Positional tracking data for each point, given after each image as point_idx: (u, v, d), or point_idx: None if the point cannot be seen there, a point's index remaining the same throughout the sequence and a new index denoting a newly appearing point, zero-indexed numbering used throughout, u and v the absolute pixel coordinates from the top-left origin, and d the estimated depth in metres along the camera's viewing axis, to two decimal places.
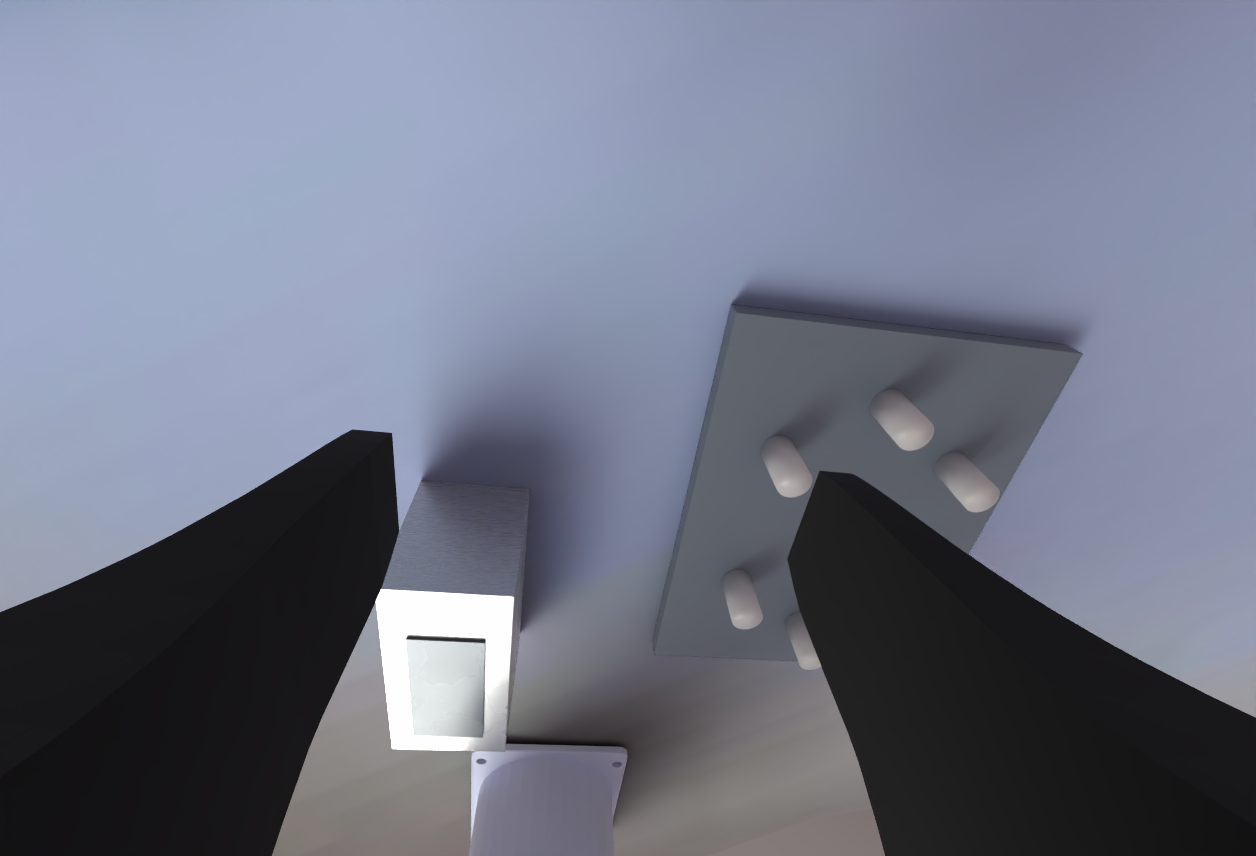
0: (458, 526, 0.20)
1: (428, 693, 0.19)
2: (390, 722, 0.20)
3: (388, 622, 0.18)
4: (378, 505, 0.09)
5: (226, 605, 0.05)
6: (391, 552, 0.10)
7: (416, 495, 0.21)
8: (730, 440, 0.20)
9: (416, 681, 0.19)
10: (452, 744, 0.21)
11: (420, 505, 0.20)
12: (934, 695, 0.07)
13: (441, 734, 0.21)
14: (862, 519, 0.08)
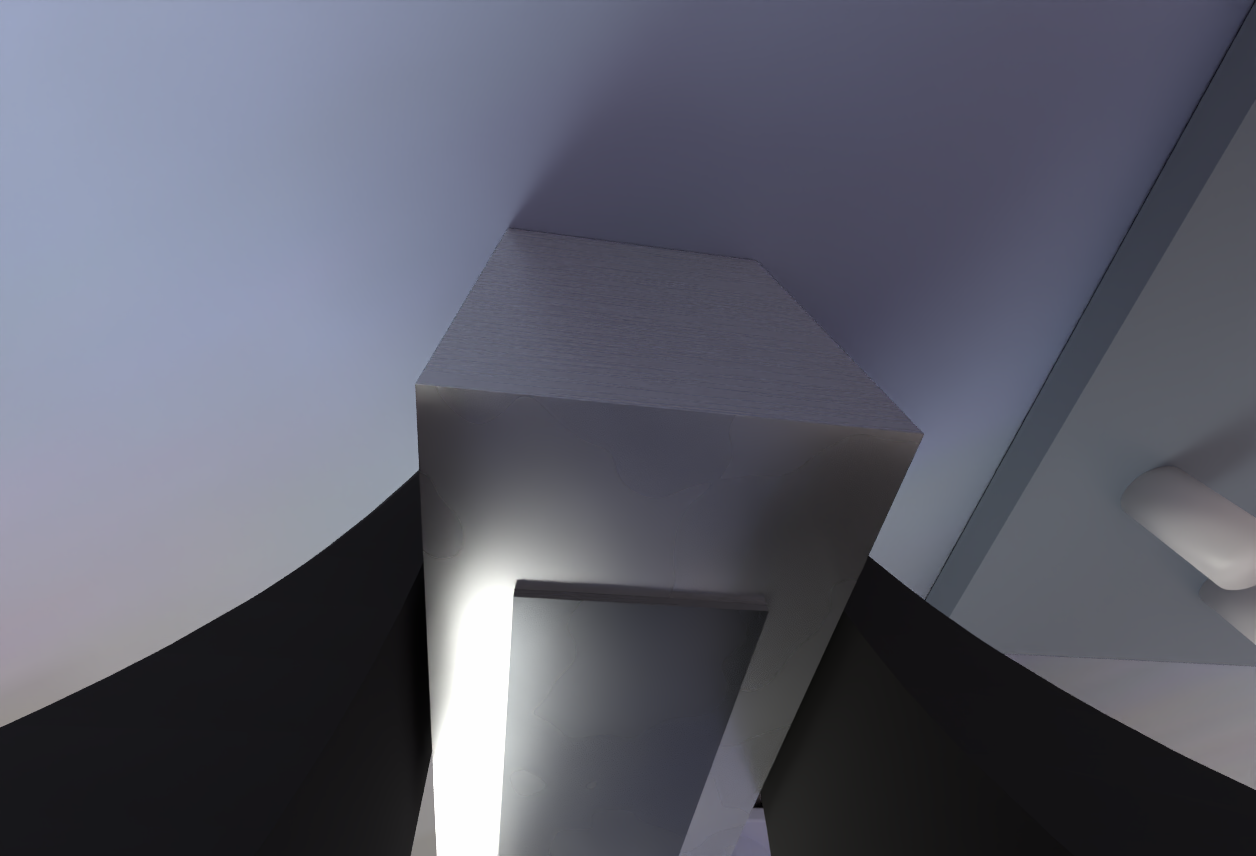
0: (635, 291, 0.07)
1: (557, 765, 0.07)
2: (439, 835, 0.07)
3: (459, 532, 0.05)
4: None
5: (404, 614, 0.05)
6: None
7: (503, 243, 0.08)
8: None
9: (527, 731, 0.06)
10: None
11: (518, 255, 0.08)
12: (810, 690, 0.07)
13: None
14: None
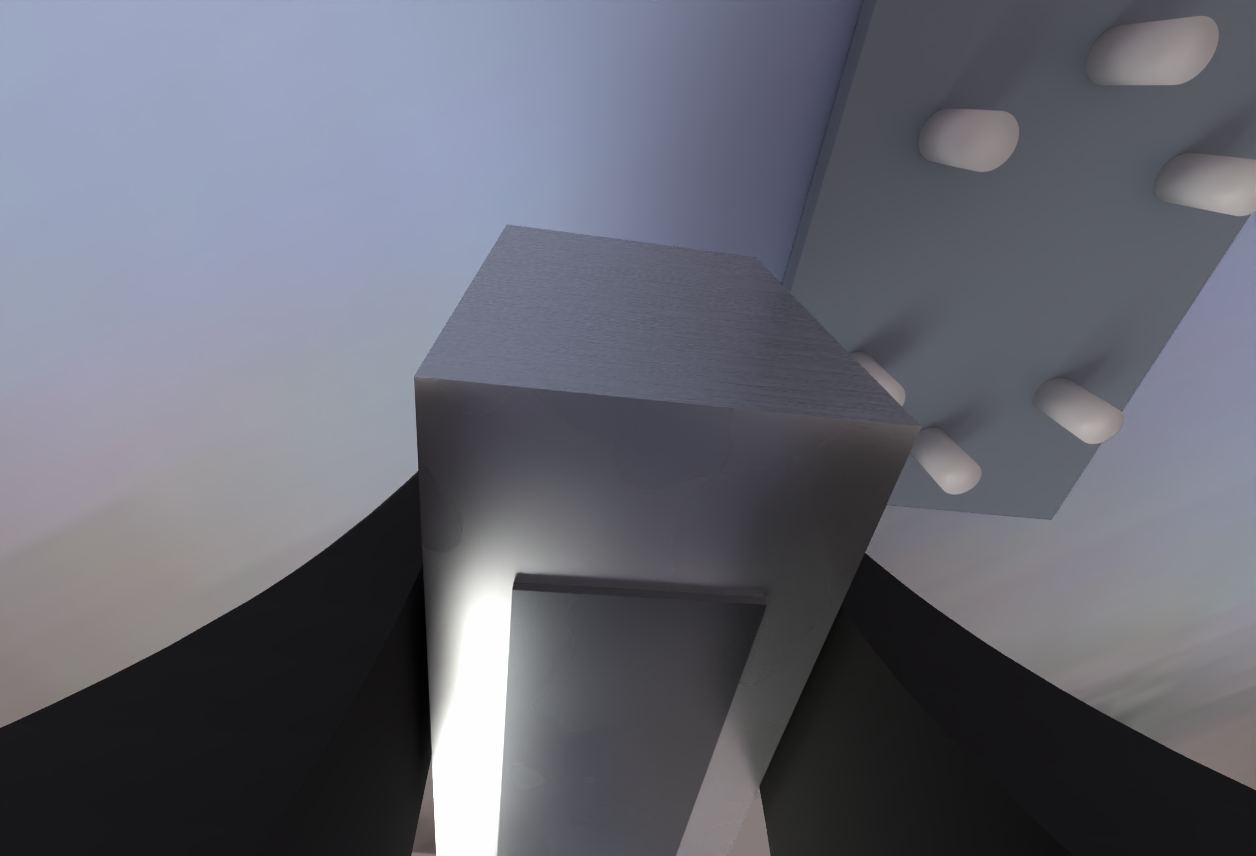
0: (634, 286, 0.07)
1: (556, 758, 0.07)
2: (438, 829, 0.07)
3: (458, 525, 0.05)
4: None
5: (404, 614, 0.05)
6: None
7: (502, 239, 0.08)
8: (878, 114, 0.14)
9: (526, 725, 0.06)
10: None
11: (517, 251, 0.08)
12: (810, 690, 0.07)
13: None
14: None
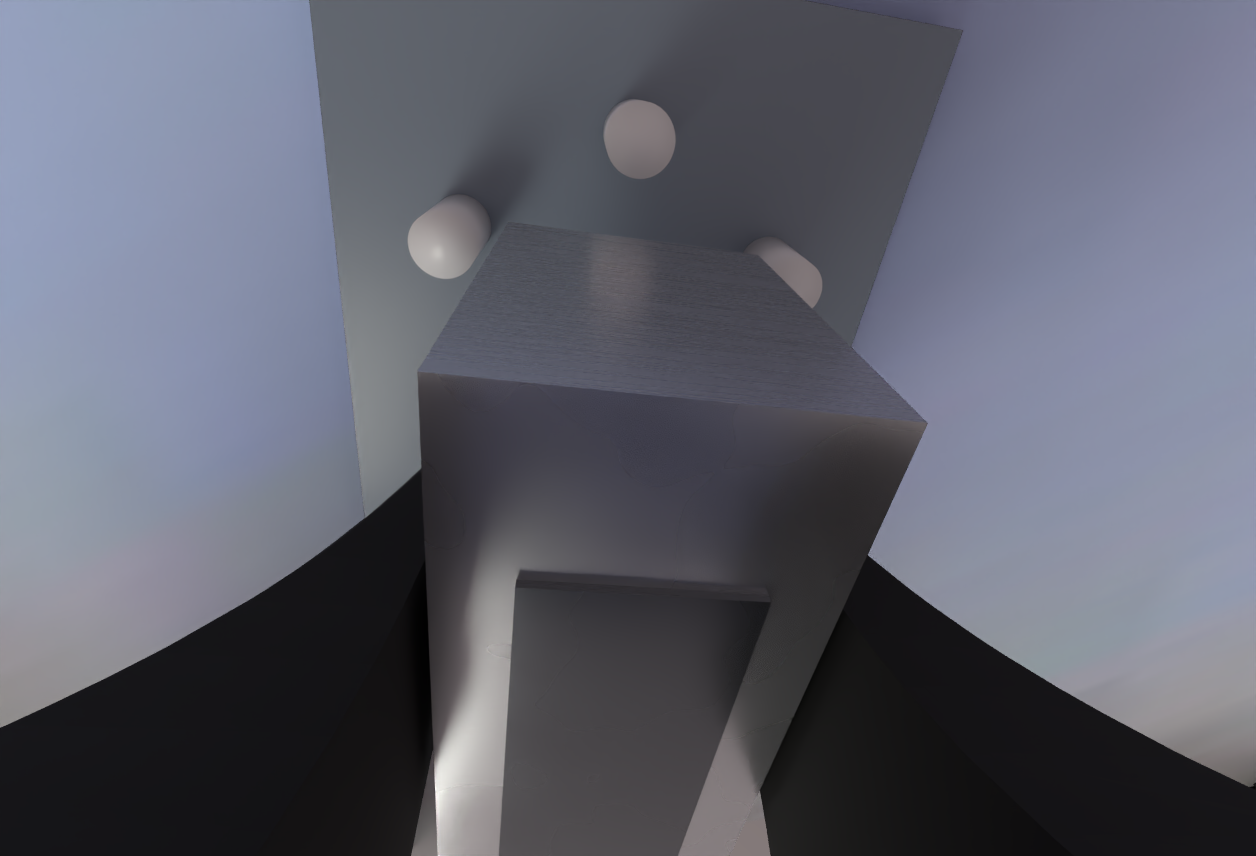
0: (637, 283, 0.07)
1: (558, 758, 0.07)
2: (440, 829, 0.07)
3: (460, 522, 0.05)
4: None
5: (404, 615, 0.05)
6: None
7: (503, 236, 0.08)
8: (374, 202, 0.12)
9: (528, 723, 0.06)
10: None
11: (519, 248, 0.08)
12: (810, 690, 0.07)
13: (571, 855, 0.08)
14: None
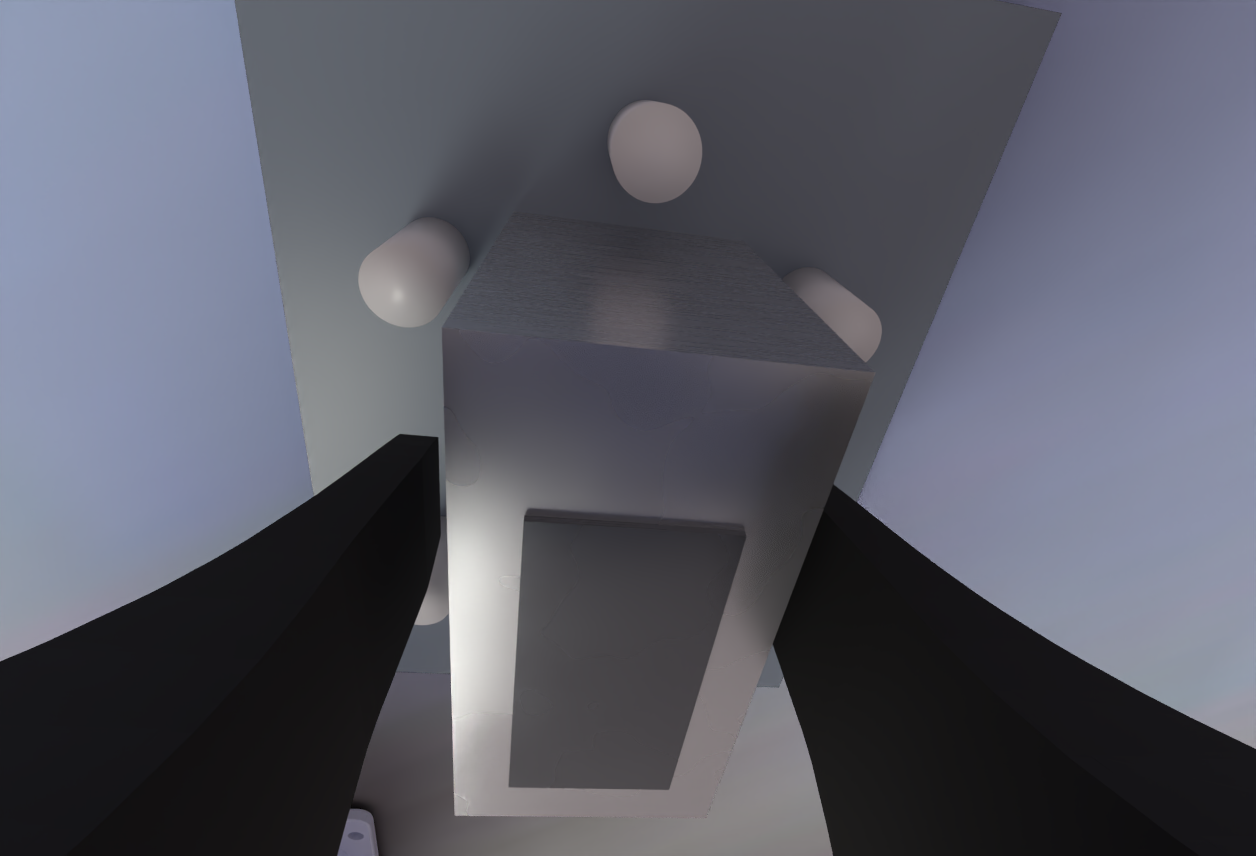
0: (629, 263, 0.08)
1: (561, 685, 0.07)
2: (455, 756, 0.08)
3: (477, 461, 0.06)
4: (426, 509, 0.09)
5: (310, 610, 0.05)
6: (435, 555, 0.10)
7: (510, 224, 0.09)
8: (325, 227, 0.10)
9: (535, 651, 0.07)
10: (594, 804, 0.09)
11: (524, 234, 0.08)
12: (878, 693, 0.07)
13: (573, 783, 0.09)
14: None
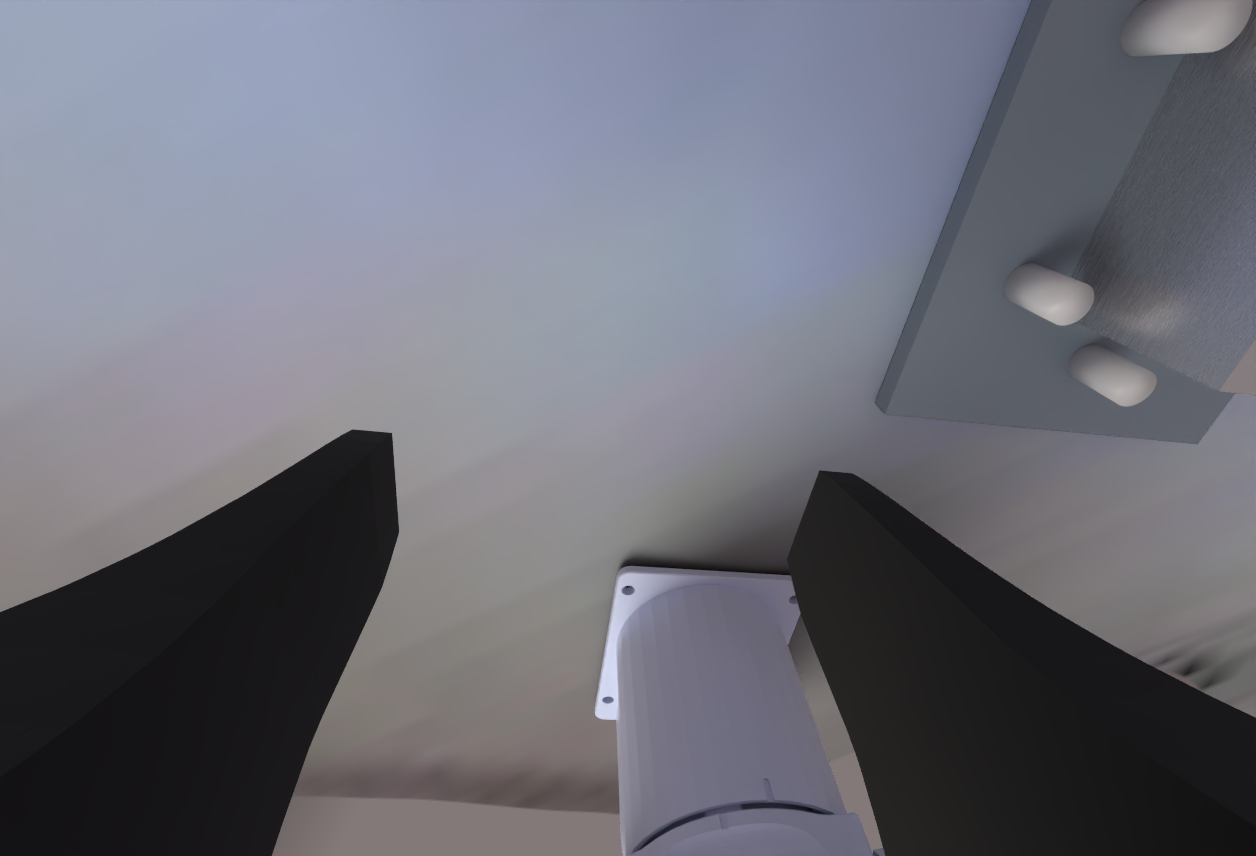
0: None
1: None
2: None
3: None
4: (378, 505, 0.09)
5: (226, 605, 0.05)
6: (391, 552, 0.10)
7: None
8: (1085, 5, 0.14)
9: None
10: None
11: None
12: (934, 695, 0.07)
13: None
14: (861, 518, 0.08)
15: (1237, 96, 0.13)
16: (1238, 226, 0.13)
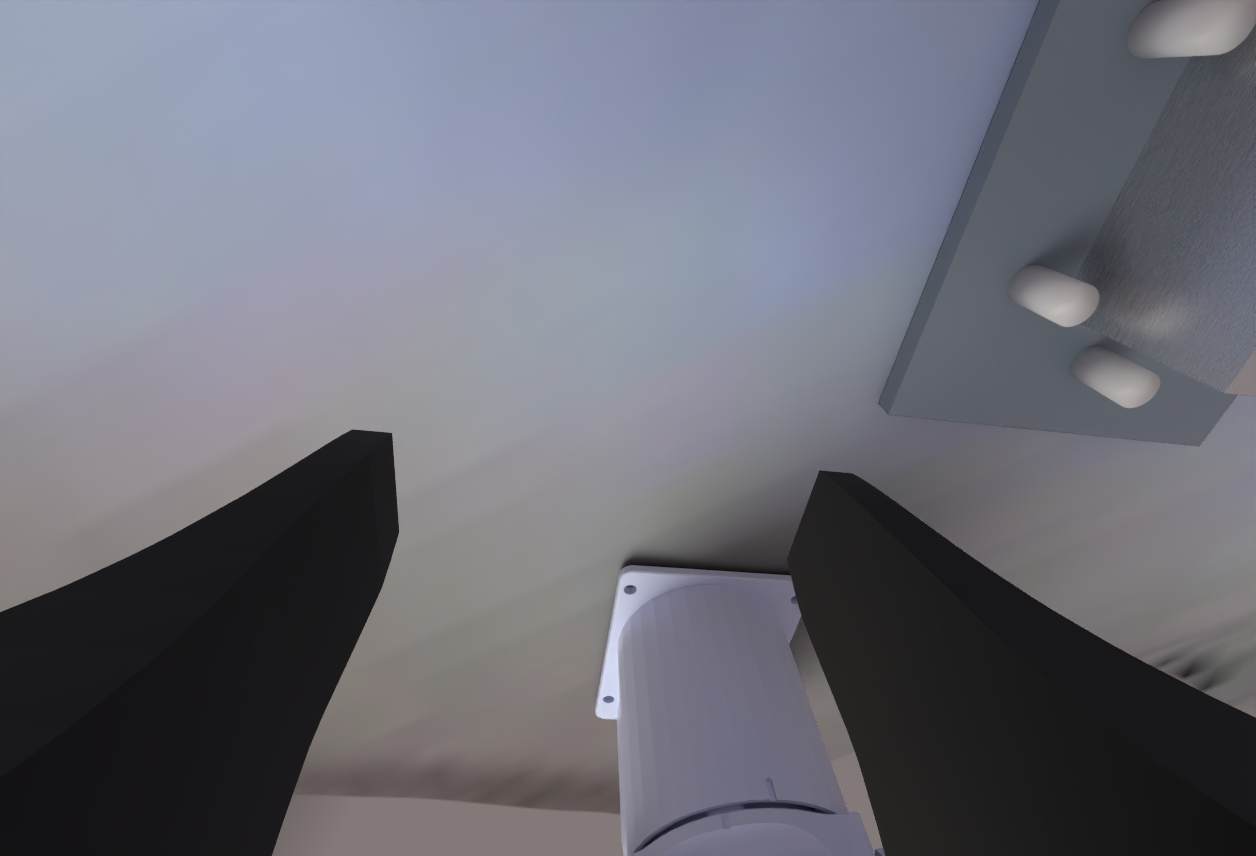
0: None
1: None
2: None
3: None
4: (378, 505, 0.09)
5: (226, 605, 0.05)
6: (391, 552, 0.10)
7: None
8: (1093, 7, 0.14)
9: None
10: None
11: None
12: (934, 695, 0.07)
13: None
14: (861, 519, 0.08)
15: (1244, 99, 0.13)
16: (1244, 229, 0.13)
